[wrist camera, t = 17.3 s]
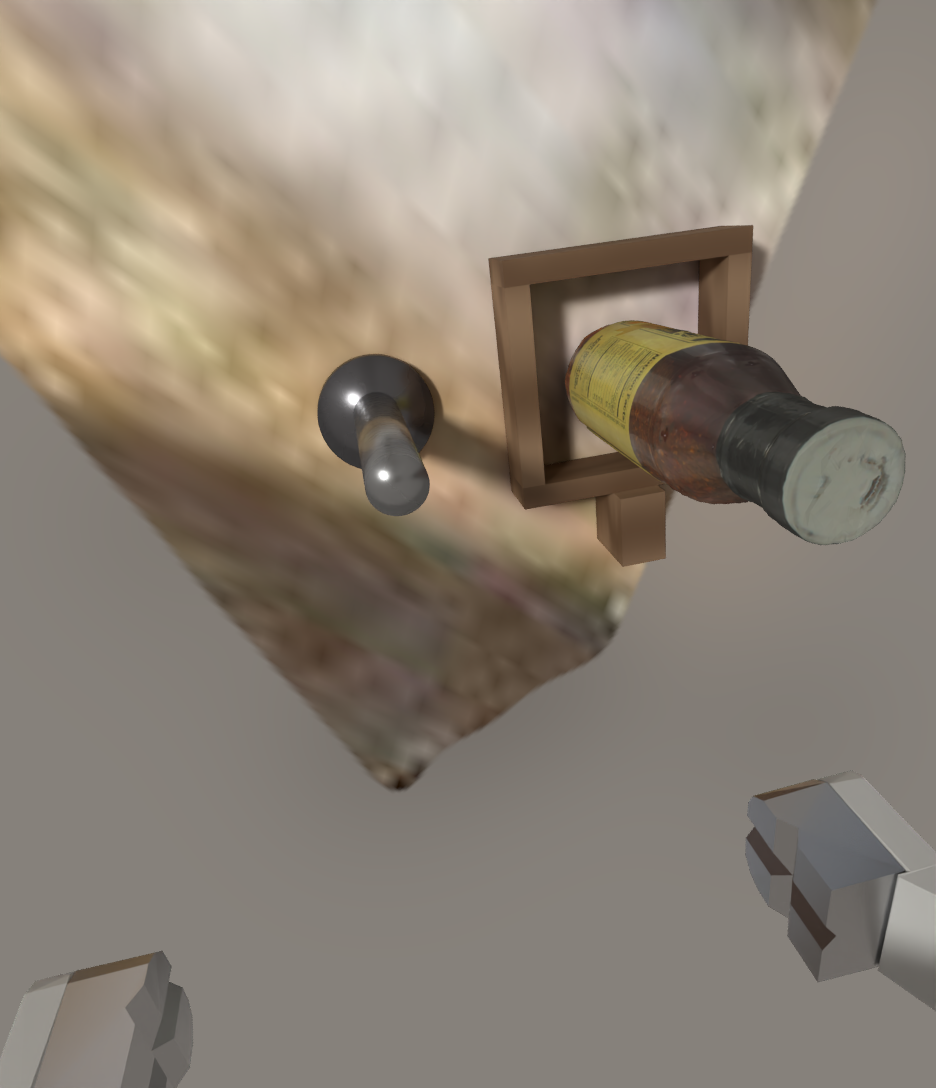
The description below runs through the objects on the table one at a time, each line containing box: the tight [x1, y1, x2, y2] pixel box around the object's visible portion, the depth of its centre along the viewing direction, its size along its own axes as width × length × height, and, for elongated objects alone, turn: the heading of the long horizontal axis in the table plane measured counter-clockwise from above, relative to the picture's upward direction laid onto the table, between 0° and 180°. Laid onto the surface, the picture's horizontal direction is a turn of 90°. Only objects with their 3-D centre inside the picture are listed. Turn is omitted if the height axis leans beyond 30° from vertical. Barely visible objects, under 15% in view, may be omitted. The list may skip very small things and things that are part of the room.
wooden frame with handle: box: [489, 225, 753, 567], centre depth 38 cm, size 16×12×4 cm
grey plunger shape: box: [318, 354, 434, 516], centre depth 32 cm, size 6×6×12 cm
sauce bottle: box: [565, 320, 905, 545], centre depth 30 cm, size 7×6×20 cm
